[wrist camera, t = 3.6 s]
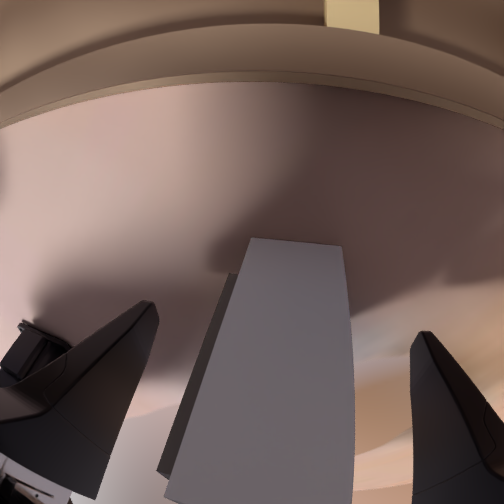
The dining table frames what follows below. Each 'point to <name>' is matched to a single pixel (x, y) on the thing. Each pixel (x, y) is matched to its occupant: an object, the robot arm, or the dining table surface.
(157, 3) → the rail
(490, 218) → the dining table surface
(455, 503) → the robot arm
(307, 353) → the grey boxy piece
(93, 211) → the dining table surface
